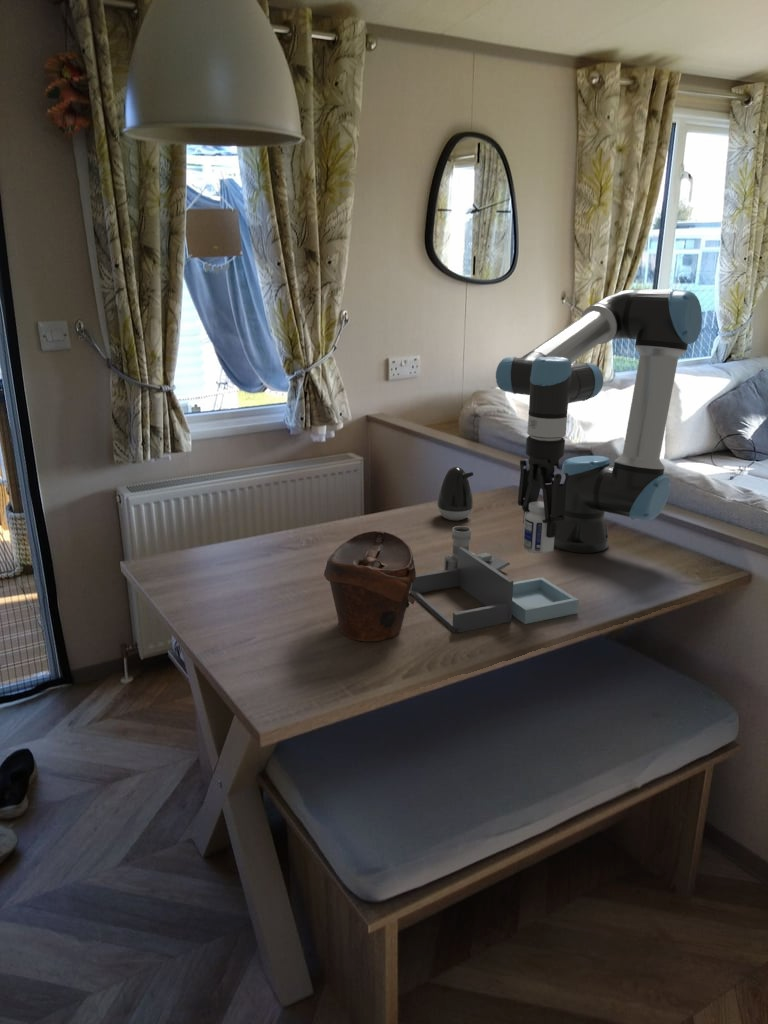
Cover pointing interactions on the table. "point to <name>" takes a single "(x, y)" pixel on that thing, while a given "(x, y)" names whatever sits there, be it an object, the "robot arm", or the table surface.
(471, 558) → the stand
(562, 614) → the tray
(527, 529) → the pill bottle
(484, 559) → the camera
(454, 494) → the pump dispenser
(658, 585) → the table surface
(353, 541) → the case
